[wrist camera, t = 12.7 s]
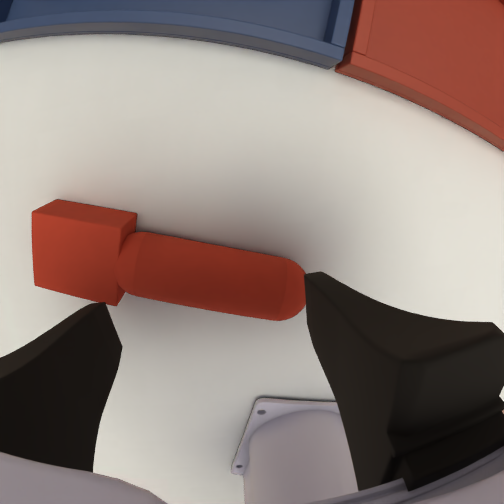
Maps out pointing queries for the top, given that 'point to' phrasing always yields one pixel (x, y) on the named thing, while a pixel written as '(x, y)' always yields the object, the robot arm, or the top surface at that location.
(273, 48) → the blue tray
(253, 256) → the red block-ended rod
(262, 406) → the robot arm
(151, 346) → the top surface
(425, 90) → the red tray
